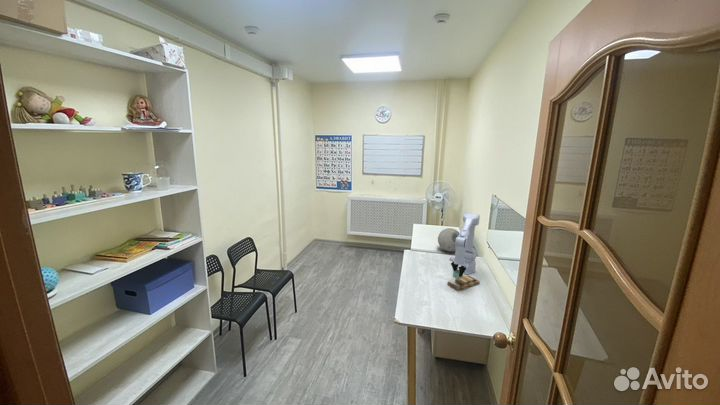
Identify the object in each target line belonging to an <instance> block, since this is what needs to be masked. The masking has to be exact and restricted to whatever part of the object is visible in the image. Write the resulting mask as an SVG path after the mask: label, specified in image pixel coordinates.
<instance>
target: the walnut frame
mask: <svg viewBox="0 0 720 405" xmlns="http://www.w3.org/2000/svg"><path fill="white" fill-rule="evenodd" d="M467 276H468V277H470V278H472V279H474V281H473V282H472V283H469V284H464V283H463V282H461V281H459V280H457V279H456V278H455V281H454V283H455V284H454V283H453V282H451V281H448V282H447V286H449V287H450V288H452V289H453V290H456V291H457V292H461V291H463V290H467V289H469V288H472V287H476V286H478V285H480V283H481V282H480V280H479V279H477V278H474V277H472V276H470V275H467ZM458 285H459V286H458Z"/></svg>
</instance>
